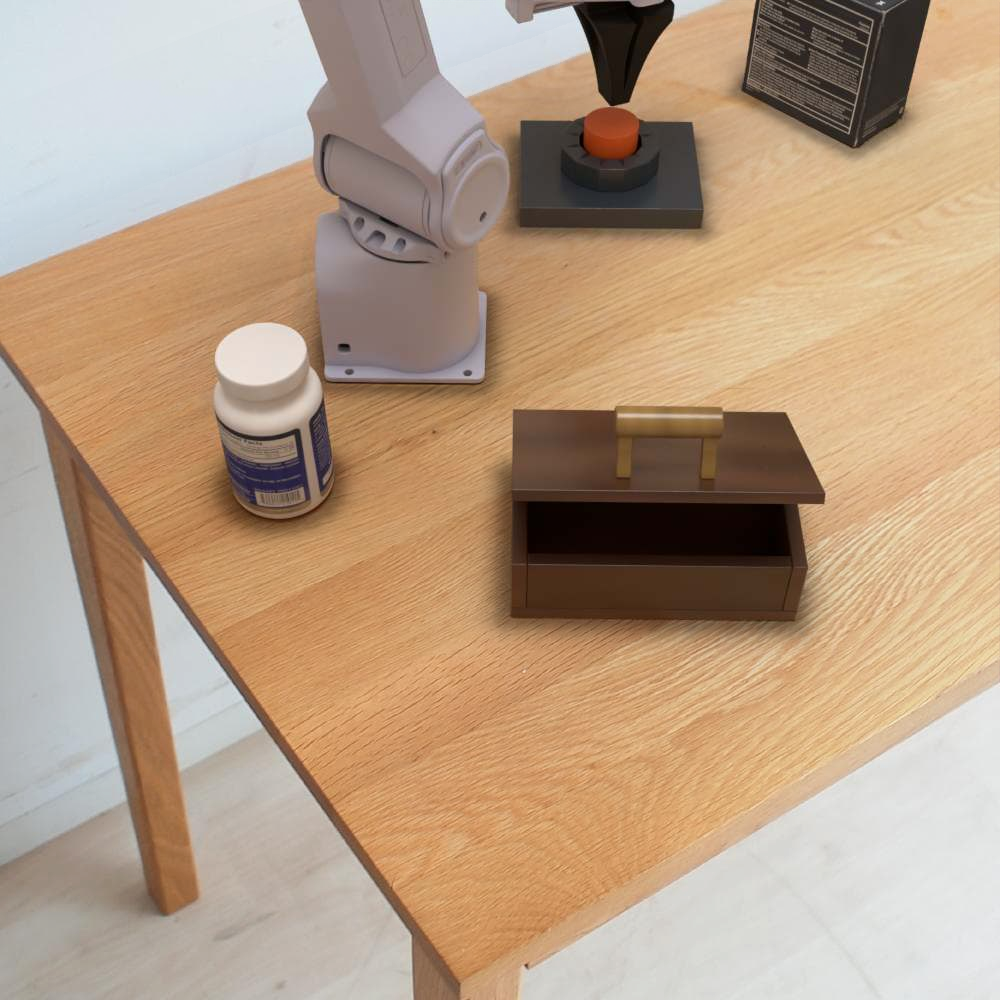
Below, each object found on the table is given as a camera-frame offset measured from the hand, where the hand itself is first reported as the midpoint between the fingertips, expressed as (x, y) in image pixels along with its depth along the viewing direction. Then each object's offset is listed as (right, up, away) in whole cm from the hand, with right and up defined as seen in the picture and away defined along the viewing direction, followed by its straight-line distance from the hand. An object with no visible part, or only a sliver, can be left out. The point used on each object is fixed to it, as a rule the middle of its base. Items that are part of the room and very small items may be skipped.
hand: (613, 96), depth 94 cm
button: (0, -2, +3) cm, 4 cm away
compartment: (0, -28, -16) cm, 33 cm away
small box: (+16, +3, +12) cm, 20 cm away
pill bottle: (-19, -25, -13) cm, 35 cm away
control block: (0, -5, +5) cm, 7 cm away
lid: (+1, -24, -21) cm, 32 cm away
